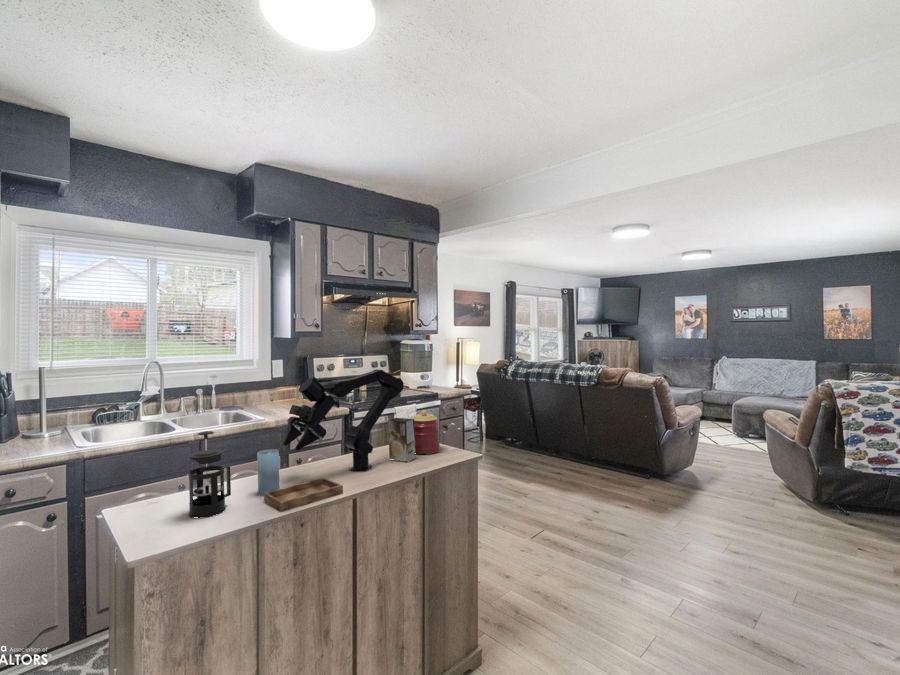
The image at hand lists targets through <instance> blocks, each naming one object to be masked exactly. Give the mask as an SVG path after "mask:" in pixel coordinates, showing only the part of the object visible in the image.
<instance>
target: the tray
mask: <svg viewBox="0 0 900 675" xmlns="http://www.w3.org/2000/svg"><path fill="white" fill-rule="evenodd" d="M343 493H344V486H343V484H340V483H338V482H335V481H333V480H330V479H328V478H326V477H321V478H316V479H313V480H309V481H305V482H302V483H298V484H294V485H290V486H287V487H283V488H280V489H278V490H274V491H271V492H267V493H264V496H263V501H265V502H264V503H266V504H267V503H268V505H269V506H271V507H273V508H275V509H276V510H277V511H279V512H282V513H283V512H286V511H289V510H292V509H296V508H298V507H301V506H305V505H309V504H312V503H315V502H319V501H322V500H325V499H329V498H332V497H335V496H338V495H341V494H343Z"/></svg>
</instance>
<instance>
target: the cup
mask: <svg viewBox="0 0 900 675" xmlns="http://www.w3.org/2000/svg"><path fill="white" fill-rule="evenodd" d="M256 455H257V458H256V459H257V460H256V461H257V489H258V490H257V491H258V492H257V495H259V494H260V495H259V496H262V495H264V493H267V492H271V491H274V490H278V489H281V488H280V486H281V484H280V452H279V450H278V449H275V448H274V449H273V448H272V449H271V448H270V449H269V448H268V449H263V450H260V451H258V452H257V454H256Z"/></svg>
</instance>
